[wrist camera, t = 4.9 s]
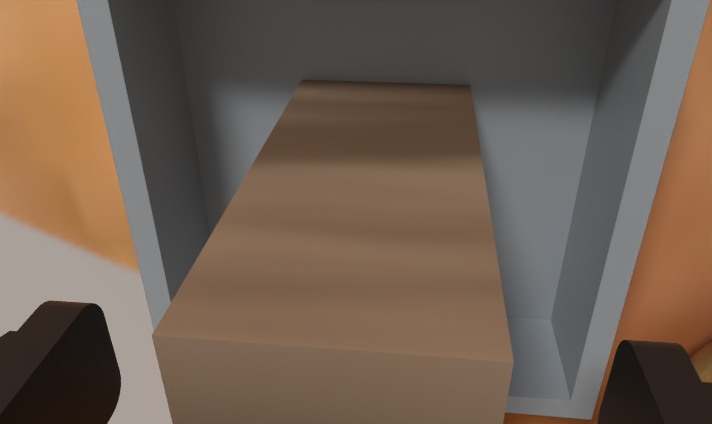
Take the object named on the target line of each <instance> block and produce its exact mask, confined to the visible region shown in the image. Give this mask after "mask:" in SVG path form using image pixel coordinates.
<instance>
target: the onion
mask: <svg viewBox="0 0 712 424" xmlns="http://www.w3.org/2000/svg"><path fill="white" fill-rule="evenodd" d="M690 360H691V362H692V364H693V366H694V368H695V370H696V372H697V373H698V375H699V377H700V379H701V381H702V382H709V383H712V341H710V342H709V343H707V344H706V345H704V346H702V347H701V348H700V349H699V350H698V351H697V352H696V353H694V354H693V355H692V356H691V357H690Z"/></svg>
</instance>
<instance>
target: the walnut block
mask: <svg viewBox="0 0 712 424" xmlns="http://www.w3.org/2000/svg"><path fill="white" fill-rule="evenodd" d="M152 338H153V342H154V346H155V351H156V355H157V359H158V363H159V368H160V371H161V376H162V380H163V384H164V388H165V393H166V397H167V401H168V405H169V410H170V414H171V418H172V422H173V424H503V421H504V416H505V410H506V404H507V398H508V393H509V387H510V381H511V376H512V370H513V364H514V361H513V354H512V348H511V341H510V335H509V329H508V322H507V316H506V309H505V303H504V297H503V290H502V284H501V277H500V271H499V265H498V258H497V252H496V245H495V239H494V233H493V226H492V220H491V214H490V207H489V201H488V194H487V188H486V182H485V175H484V169H483V162H482V156H481V150H480V143H479V137H478V130H477V124H476V118H475V111H474V105H473V99H472V92H471V86H470V85H460V84H426V83H393V82H360V81H327V80H302V81H301V82H300V84H299V86H298V87H297V89H296V91H295V92H294V94H293V96H292V98H291V99H290V101H289V103H288V104H287V106H286V108H285V109H284V111H283V113H282V115H281V116H280V118H279V120H278V121H277V123H276V125H275V127H274V128H273V130H272V132H271V133H270V135H269V137H268V138H267V140H266V142H265V144H264V145H263V147H262V149H261V150H260V152H259V154H258V155H257V157H256V159H255V161H254V162H253V164H252V166H251V167H250V169H249V171H248V172H247V174H246V176H245V178H244V179H243V181H242V183H241V184H240V186H239V188H238V190H237V191H236V193H235V195H234V196H233V198H232V200H231V201H230V203H229V205H228V207H227V208H226V210H225V212H224V213H223V215H222V217H221V218H220V220H219V222H218V224H217V225H216V227H215V229H214V230H213V232H212V234H211V235H210V237H209V239H208V241H207V242H206V244H205V246H204V247H203V249H202V251H201V253H200V254H199V256H198V258H197V259H196V261H195V263H194V264H193V266H192V268H191V270H190V271H189V273H188V275H187V276H186V278H185V280H184V281H183V283H182V285H181V287H180V288H179V290H178V292H177V293H176V295H175V297H174V298H173V300H172V302H171V304H170V305H169V307H168V309H167V310H166V312H165V314H164V315H163V317H162V319H161V321H160V322H159V324H158V326H157V327H156V329H155V331H154V333H153V334H152Z"/></svg>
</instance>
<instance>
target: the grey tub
mask: <svg viewBox="0 0 712 424" xmlns="http://www.w3.org/2000/svg"><path fill="white" fill-rule="evenodd" d="M709 3H710V0H77V4H78V9H79V13H80V17H81V21H82V26H83V30H84V34H85V38H86V43H87V47H88V51H89V56H90V60H91V64H92V68H93V73H94V77H95V81H96V85H97V90H98V94H99V98H100V103H101V107H102V111H103V115H104V120H105V124H106V128H107V132H108V137H109V141H110V145H111V149H112V154H113V158H114V162H115V167H116V171H117V175H118V179H119V184H120V188H121V192H122V196H123V201H124V205H125V209H126V214H127V218H128V222H129V226H130V231H131V235H132V239H133V243H134V248H135V252H136V256H137V260H138V265H139V269H140V273H141V278H142V282H143V286H144V290H145V295H146V299H147V303H148V307H149V312H150V316H151V320H152V325H153V329H154V331H155V329H156V327H157V326H158V324H159V322H160V321H161V319H162V317H163V315H164V314H165V312H166V310H167V309H168V307H169V305H170V304H171V302H172V300H173V298H174V297H175V295H176V293H177V292H178V290H179V288H180V287H181V285H182V283H183V281H184V280H185V278H186V276H187V275H188V273H189V271H190V270H191V268H192V266H193V264H194V263H195V261H196V259H197V258H198V256H199V254H200V253H201V251H202V249H203V247H204V246H205V244H206V242H207V241H208V239H209V237H210V235H211V234H212V232H213V230H214V229H215V227H216V225H217V224H218V222H219V220H220V218H221V217H222V215H223V213H224V212H225V210H226V208H227V207H228V205H229V203H230V201H231V200H232V198H233V196H234V195H235V193H236V191H237V190H238V188H239V186H240V184H241V183H242V181H243V179H244V178H245V176H246V174H247V172H248V171H249V169H250V167H251V166H252V164H253V162H254V161H255V159H256V157H257V155H258V154H259V152H260V150H261V149H262V147H263V145H264V144H265V142H266V140H267V138H268V137H269V135H270V133H271V132H272V130H273V128H274V127H275V125H276V123H277V121H278V120H279V118H280V116H281V115H282V113H283V111H284V109H285V108H286V106H287V104H288V103H289V101H290V99H291V98H292V96H293V94H294V92H295V91H296V89H297V87H298V86H299V84H300V82H301V81H302V80H327V81H360V82H393V83H426V84H460V85H470V86H471V92H472V99H473V105H474V111H475V118H476V124H477V130H478V137H479V143H480V150H481V156H482V162H483V169H484V175H485V182H486V188H487V194H488V201H489V207H490V214H491V220H492V226H493V233H494V239H495V245H496V252H497V258H498V265H499V271H500V277H501V284H502V290H503V297H504V303H505V309H506V316H507V322H508V329H509V335H510V341H511V348H512V354H513V361H514V364H513V370H512V376H511V381H510V387H509V393H508V398H507V404H506V410H505V413H516V414H528V415H540V416H553V417H565V418H577V419H589V420H591V419H592V416H593V412H594V409H595V405H596V402H597V398H598V395H599V391H600V388H601V384H602V381H603V377H604V373H605V370H606V366H607V363H608V359H609V356H610V352H611V349H612V345H613V342H614V338H615V335H616V331H617V328H618V324H619V320H620V317H621V313H622V310H623V306H624V303H625V299H626V296H627V292H628V289H629V285H630V282H631V278H632V275H633V271H634V267H635V264H636V260H637V257H638V253H639V250H640V246H641V243H642V239H643V236H644V232H645V229H646V225H647V222H648V218H649V214H650V211H651V207H652V204H653V200H654V197H655V193H656V190H657V186H658V183H659V179H660V176H661V172H662V169H663V165H664V161H665V158H666V154H667V151H668V147H669V144H670V140H671V137H672V133H673V130H674V126H675V123H676V119H677V116H678V112H679V109H680V105H681V101H682V98H683V94H684V91H685V87H686V84H687V80H688V77H689V73H690V70H691V66H692V63H693V59H694V56H695V52H696V48H697V45H698V41H699V38H700V34H701V31H702V27H703V24H704V20H705V17H706V13H707V10H708V6H709Z"/></svg>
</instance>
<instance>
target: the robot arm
mask: <svg viewBox="0 0 712 424" xmlns="http://www.w3.org/2000/svg"><path fill="white" fill-rule="evenodd" d="M120 388H121V376H120V370H119V367H118V363H117V360H116V357H115V353H114V349H113V345H112V342H111V339H110V335H109V331H108V327H107V324H106V320H105V317H104V313H103V311H102V309H101V308H100V307H99V306H98V305H97V304H93V303H79V302H63V301H47V302H44V303H43V304H41V305H40V306H39V307H38V308H37V309H36V310H35V311H34V313H33V314H32V315H31V316H30V317H29V318H28V319H27V321H26V322H25V323H24V324H23V325H22V326H21V328H19V330H18V331H9V332H7V333H6V334H4V335H3V336H1V337H0V424H107V423H108V421H109V419H110V418H111V416H112V414H113V412H114V410H115V408H116V405H117V402H118V399H119V395H120ZM598 424H712V383H709V382H702V381H701V379H700V377H699V375H698V373H697V372H696V370H695V368H694V366H693V364H692V362H691V360H690V358H689V356H688V354H687V353H686V351H685V349H684V348H683V347H682V346H681V345H679V344H677V343H663V342H648V341H633V340H623V341H622V342H621V343H620V344H619V346H618V348H617V351H616V355H615V358H614V362H613V365H612V369H611V372H610V376H609V379H608V383H607V387H606V390H605V394H604V397H603V401H602V404H601V408H600V412H599V418H598Z"/></svg>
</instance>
